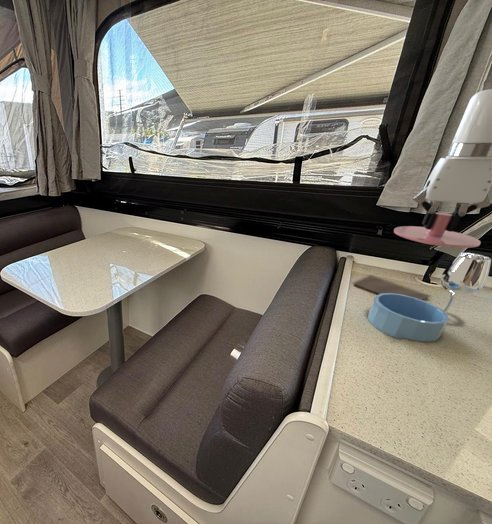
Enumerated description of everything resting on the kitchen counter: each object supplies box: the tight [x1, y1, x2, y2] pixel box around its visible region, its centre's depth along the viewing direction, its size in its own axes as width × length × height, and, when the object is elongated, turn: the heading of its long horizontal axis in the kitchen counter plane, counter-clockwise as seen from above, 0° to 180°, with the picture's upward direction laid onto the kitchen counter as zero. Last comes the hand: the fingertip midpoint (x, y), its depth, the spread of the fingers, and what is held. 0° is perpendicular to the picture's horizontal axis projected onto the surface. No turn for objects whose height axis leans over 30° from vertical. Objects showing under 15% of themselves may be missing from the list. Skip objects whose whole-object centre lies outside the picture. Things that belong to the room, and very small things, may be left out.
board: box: [353, 276, 428, 301], centre depth 92 cm, size 16×12×1 cm
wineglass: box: [439, 252, 492, 314], centre depth 74 cm, size 8×8×20 cm
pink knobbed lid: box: [393, 212, 482, 249], centre depth 69 cm, size 16×16×7 cm
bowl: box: [367, 293, 450, 343], centre depth 74 cm, size 15×15×6 cm
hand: (437, 228), depth 69 cm, fingers closed on pink knobbed lid, 3 cm apart
